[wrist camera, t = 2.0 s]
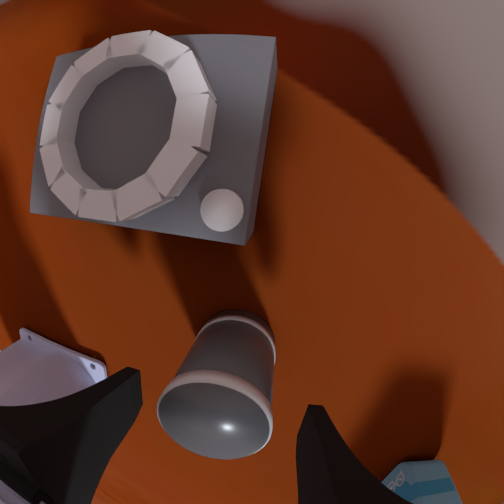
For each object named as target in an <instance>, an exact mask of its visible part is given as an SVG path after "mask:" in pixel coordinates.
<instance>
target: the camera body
mask: <svg viewBox="0 0 504 504" xmlns="http://www.w3.org/2000/svg"><path fill="white" fill-rule="evenodd" d="M276 74H277V53H276V37H267V36H255V35H235V34H234V35H233V34H195V35H175V36H165V35H163V34H161V33H159V32H157V31H155V30H154V32H152V31H151V30H147V31H139V32H133V33H127V34H121V35H115V36H112V37H111V39H109V38H107V39H105V40H104V41H102V42H101V43H100V44H98V45H97V46H95V47H92V48H87V49H83V50H79V51H75V52H71V53H68V54H64V55H60V56H57V58H56V61H55V64H54V67H53V70H52V74H51V77H50V81H49V85H48V88H47V92H46V96H45V101H44V105H43V109H42V114H41V119H40V124H39V130H38V136H37V142H36V149H35V156H34V165H33V174H32V186H31V203H30V213H36V214H43V215H50V216H56V217H63V218H70V219H76V220H83V221H90V222H96V223H103V224H109V225H116V226H122V227H129V228H135V229H142V230H148V231H155V232H161V233H167V234H174V235H180V236H187V237H193V238H199V239H206V240H212V241H218V242H225V243H231V244H237V245H244V246H245V244H246V243H247V241H248V240H249V239H250V237H251V236H252V234H253V231H254V224H255V217H256V210H257V203H258V197H259V190H260V183H261V176H262V169H263V162H264V155H265V149H266V142H267V135H268V128H269V121H270V115H271V108H272V101H273V94H274V87H275V81H276Z"/></svg>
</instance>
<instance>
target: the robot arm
mask: <svg viewBox="0 0 504 504" xmlns="http://www.w3.org/2000/svg"><path fill="white" fill-rule="evenodd" d="M19 333H20V338H21V339H19V340H18V341H16V342H15V343H13V344H12V345H10V346H9V347H7V348H6V349H4V350H3V351H1V352H0V504H91V501H92V499H93V496H94V493H95V491H96V488H97V486H98V484H99V481H100V479H101V477H102V475H103V472H104V470H105V468H106V466H107V464H108V462H109V460H110V458H111V457H112V455H113V453H114V452H115V450H116V449H117V447H118V446H119V444H120V443H121V441H122V440H123V438H124V437H125V435H126V434H127V432H128V431H129V429H130V428H131V426H132V425H133V423H134V422H135V420H136V418H137V416H138V413H139V411H140V409H141V407H142V404H143V401H142V390H141V377H140V370H137V369H134V368H130V367H126V368H124V369H122V370H120V371H119V372H117V373H115V374H113V375H111V376H109V377H108V378H107V370H106V366H105V365H104V363H103V362H101V361H99V360H96V359H94V358H91V357H88V356H86V355H83V354H81V353H78V352H76V351H73V350H71V349H69V348H66V347H64V346H62V345H59V344H57V343H55V342H53V341H50V340H48V339H46V338H44V337H42V336H40V335H38V334H35V333H33V332H31V331H29V330H27V329H25V328H21V329H20V330H19ZM93 364H94V365H95V366H94V365H93ZM296 467H297V482H298V504H413V503H411V502H409V501H407V500H405V499H403V498H402V497H400V496H399V495H397V494H396V493H394V492H393V491H391V490H390V489H389V488H387V487H386V486H385V485H384V484H382V483H381V482H380V481H379V480H378V479H376V478H375V477H374V476H373V475H372V474H371V473H370V472H369V471H368V470H367V469H366V468H365V467H364V466H363V465H362V464H361V463H360V461H359V460H358V459H357V458H356V457H355V455H354V454H353V453H352V451H351V450H350V449H349V447H348V446H347V445H346V443H345V442H344V440H343V439H342V437H341V436H340V434H339V432H338V431H337V429H336V428H335V426H334V424H333V422H332V421H331V419H330V417H329V415H328V414H327V412H326V410H325V408H324V407H323V406H321V405H309V404H308V407H307V410H306V413H305V416H304V419H303V421H302V424H301V427H300V429H299V432H298V435H297V444H296Z"/></svg>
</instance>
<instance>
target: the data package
mask: <svg viewBox="0 0 504 504" xmlns="http://www.w3.org/2000/svg"><path fill="white" fill-rule="evenodd" d="M381 483H382V484H384V485H385V486H386V487H387V488H389V489H390V490H391V491H393V492H394V493H396V494H397V495H399V496H400V497H402V498H403V499H405V500H407V501H409V502H411V503H413V504H462V502H461V499H460V497H459V495H458V492H457V490H456V488H455V485H454V483H453V481H452V479H451V476H450V474H449V472H448V470H447V468H446V466H445V464H444V462H443V461H441V460H427V461H410V462H401V463H399V464H398V465H397V466H396V467H395V468H394V469H393V470H392V471H391V472H390V473H389V474H388V476H387V477H386V478H385V479H384V480H383V481H382V482H381Z"/></svg>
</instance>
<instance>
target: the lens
mask: <svg viewBox="0 0 504 504" xmlns="http://www.w3.org/2000/svg"><path fill="white" fill-rule="evenodd" d="M275 356H276V349H275V338H274V334H273V332H272V330H271V328H270V327H269V325H268V324H267V323H266V322H265V321H264V320H263V319H262V318H261V317H259V316H258V315H256V314H254V313H252V312H249V311H246V310H241V309H229V310H224V311H221V312H218V313H216V314H214V315H213V316H212V317H210V318H209V319H208V320H207V322H206V323H205V324H204V326H203V327H202V328H201V330H200V331H199V333H198V335H197V337H196V339H195V341H194V344H193V345H192V347H191V349H190V351H189V352H188V354H187V356H186V358H185V359H184V361H183V363H182V365H181V366H180V368H179V370H178V372H177V373H176V375H175V377H174V379H172V380H171V381H170V382H169V383H168V385H167V386H166V388H165V389H164V391H163V393H162V395H161V396H160V398H159V400H158V404H157V415H158V418H159V421H160V423H161V425H162V427H163V428H164V430H165V431H166V432H167V434H168V435H169V436H170V437H171V438H172V439H173V440H174V441H176V442H177V443H178V444H179V445H181V446H183V447H184V448H186V449H188V450H190V451H192V452H194V453H196V454H199V455H202V456H206V457H210V458H216V459H236V458H242V457H245V456H249V455H251V454H254V453H255V452H257V451H259V450H260V449H262V448H263V447H264V446H265V445H266V444H267V442H268V441H269V439H270V437H271V434H272V426H273V412H272V408H271V404H272V389H273V374H274V364H275Z"/></svg>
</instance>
